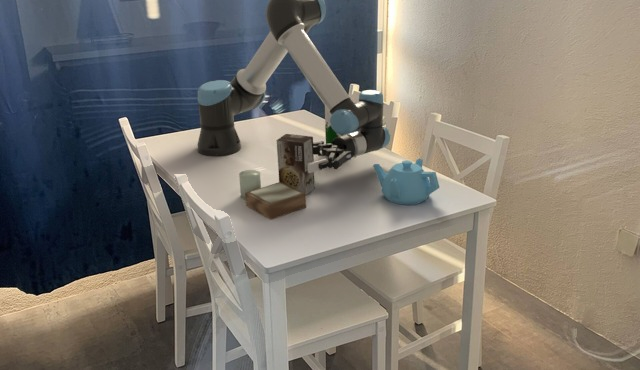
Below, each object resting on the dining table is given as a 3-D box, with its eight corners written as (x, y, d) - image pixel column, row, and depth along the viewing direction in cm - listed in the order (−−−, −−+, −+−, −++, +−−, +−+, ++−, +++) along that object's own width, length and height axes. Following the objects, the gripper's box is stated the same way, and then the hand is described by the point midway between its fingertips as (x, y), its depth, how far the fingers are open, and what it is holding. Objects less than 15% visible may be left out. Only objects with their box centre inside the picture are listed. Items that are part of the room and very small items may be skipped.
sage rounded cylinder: (236, 195, 185) (235, 173, 182) (254, 190, 188) (252, 168, 186) (248, 202, 181) (246, 179, 178) (265, 196, 184) (264, 174, 181)
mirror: (246, 205, 178) (245, 191, 176) (280, 194, 185) (280, 181, 183) (270, 219, 169) (269, 204, 168) (306, 207, 176) (305, 193, 175)
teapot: (388, 210, 173) (389, 174, 169) (371, 190, 187) (372, 155, 183) (440, 204, 177) (442, 168, 172) (420, 184, 190) (421, 150, 186)
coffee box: (315, 187, 189) (314, 136, 183) (306, 195, 184) (304, 142, 178) (288, 183, 193) (286, 132, 187) (278, 191, 188) (275, 139, 181)
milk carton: (328, 146, 225) (327, 90, 217) (353, 147, 223) (353, 91, 216) (323, 154, 217) (322, 97, 209) (349, 155, 215) (349, 98, 208)
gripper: (376, 168, 189) (321, 186, 177) (322, 148, 207) (269, 163, 195) (376, 144, 186) (321, 161, 174) (322, 126, 204) (268, 140, 192)
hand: (293, 162), depth 184 cm, fingers open, 13 cm apart
